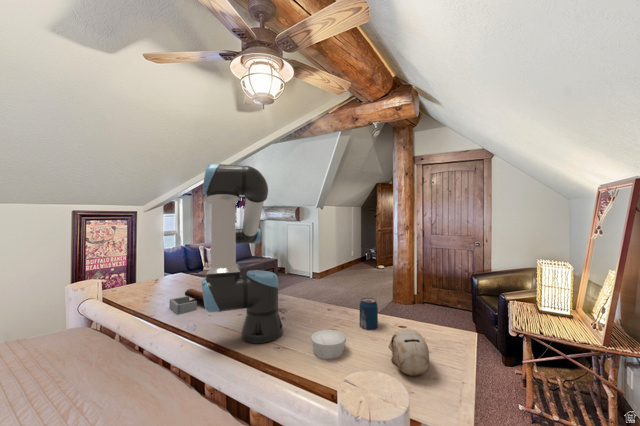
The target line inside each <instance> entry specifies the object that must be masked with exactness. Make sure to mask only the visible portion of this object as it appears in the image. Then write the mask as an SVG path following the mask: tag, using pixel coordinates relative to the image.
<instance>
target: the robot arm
mask: <svg viewBox="0 0 640 426" xmlns="http://www.w3.org/2000/svg"><path fill="white" fill-rule="evenodd" d="M202 194H203V195H205V196H206V199H207V201H208V202H209V203H211V206H210V208H211V210H210V211H211V214H210V215H211V217H210V218H211V219H210V220H211V222H210V225H211V226H210V229H211V231H210V239H211V240H210V268H209V270H208V271H207V272H206V276H205V278H202V280H201V289H202V290H201V292H203V299H204V300H203V305H204V310H206V312H208V313H221V312H228V311H237V310H243V309H244V310H245V309H246V314H245V319H244V322H243V325H242V327H241V338H242V340H244V341H246V342H247V343H252V344H253V343H254V344H262V343H263V344H264V343H268V342H273V341H275V340H277V339H279V338H280V337H281V336H282V335H283V333H284V332H283V331H284V325H283V322H282V320H281V317H280V314H279V287H280V286H279V277H278V275H277V274H276V273H275V272H272V271H267V270H261V269H255V270H253V269H252V270H248V271H247V272H246V274H245V275H241V270H240V269H239V268H238V267H237V255H236V254H237V247H236V246H237V245H238V244H241V245H242V244H243V245H244V244H258V243H259V244H260V242H261V241H262V231H261V228H259V227H260V221H261V218H262V217H261V216H262V212H263V209H264V208H263V207H264V202H265V201H266V200H267V198H268V194H269V187H268V183H267V180H266V178H265V177H264V175H263V174H262V172H261V171H259V170H258V169H256V168H255V167H252V166H250V165H235V164H223V163H218V164H217V163H210V164H208V165H207V166H206V168H205V172H204V177H203V185H202ZM240 196H244V197H245V198H246V199H245V204H244V211H243V212H244V213H243V221H242V228H236V226H237V225H236V203H237V202H238V201H240Z"/></svg>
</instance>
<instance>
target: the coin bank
mask: <svg viewBox="0 0 640 426" xmlns="http://www.w3.org/2000/svg"><path fill="white" fill-rule="evenodd" d="M388 349H389V350H390V351H391V355H392V356H391V358H390V359H391V363H392V364H395V365H396V367H397V368H398V369H399V370H400V371H401V373H402V374H406V375H408V376H410V377H412V376H417V377H419V376H420V375H421V374H423V373H425V372H426V371H427V370H428V367H429V366H430V365H429V364H430V351H429V347H428V344H427V342H426V340H425V339H424V337H423V335H422V334H421V333H419V332H418V331H417V330H415V329H408V328H405V329H400V330H397V331H396V332H395V333H394V334H393V335H392V337H391V340H390V342H389V344H388Z"/></svg>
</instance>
